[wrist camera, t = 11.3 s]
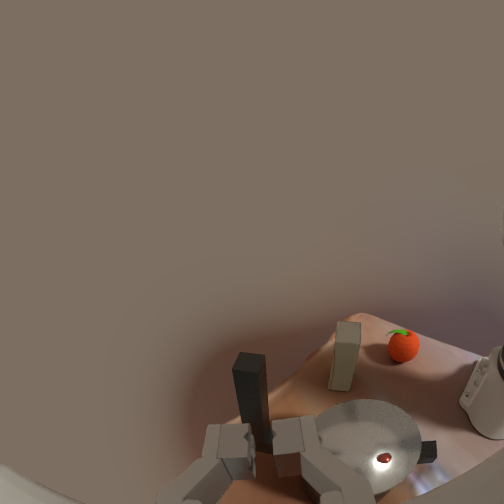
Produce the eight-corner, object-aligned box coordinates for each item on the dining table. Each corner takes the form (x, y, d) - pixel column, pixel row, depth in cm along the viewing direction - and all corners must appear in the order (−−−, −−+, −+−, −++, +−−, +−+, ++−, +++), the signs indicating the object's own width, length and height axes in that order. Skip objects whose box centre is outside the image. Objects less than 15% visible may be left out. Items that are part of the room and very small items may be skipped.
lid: (412, 401, 30) (443, 321, 25) (421, 491, 16) (484, 425, 12) (257, 395, 36) (249, 316, 31) (223, 483, 23) (195, 419, 18)
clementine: (375, 361, 51) (382, 334, 48) (387, 343, 55) (393, 317, 53) (409, 373, 45) (418, 346, 43) (418, 353, 50) (426, 327, 47)
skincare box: (331, 368, 51) (336, 319, 47) (352, 370, 50) (361, 321, 45) (327, 390, 45) (333, 341, 41) (350, 392, 44) (360, 343, 40)
